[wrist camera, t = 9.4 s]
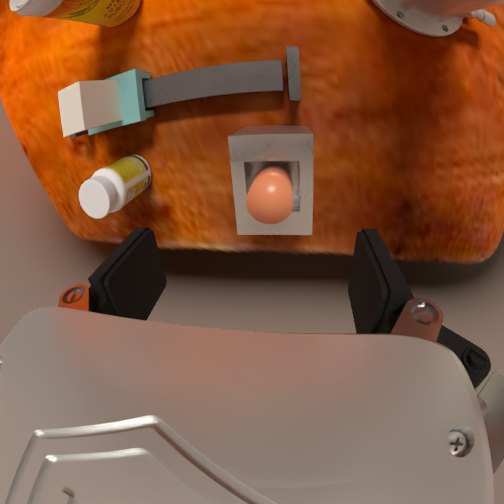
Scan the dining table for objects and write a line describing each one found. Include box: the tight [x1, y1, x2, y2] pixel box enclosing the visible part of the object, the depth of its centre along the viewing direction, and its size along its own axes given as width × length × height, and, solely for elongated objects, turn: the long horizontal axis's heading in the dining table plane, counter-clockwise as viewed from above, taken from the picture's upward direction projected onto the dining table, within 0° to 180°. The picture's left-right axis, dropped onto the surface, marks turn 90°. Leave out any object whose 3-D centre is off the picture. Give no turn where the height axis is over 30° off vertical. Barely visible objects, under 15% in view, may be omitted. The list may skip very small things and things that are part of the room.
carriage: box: [58, 69, 155, 137], centre depth 20 cm, size 7×6×9 cm
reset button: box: [246, 166, 293, 224], centre depth 19 cm, size 3×3×4 cm
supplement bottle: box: [79, 155, 151, 218], centre depth 25 cm, size 5×5×8 cm
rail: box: [70, 47, 302, 139], centre depth 22 cm, size 25×5×4 cm, turn 94°
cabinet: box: [228, 125, 313, 235], centre depth 23 cm, size 6×8×8 cm
